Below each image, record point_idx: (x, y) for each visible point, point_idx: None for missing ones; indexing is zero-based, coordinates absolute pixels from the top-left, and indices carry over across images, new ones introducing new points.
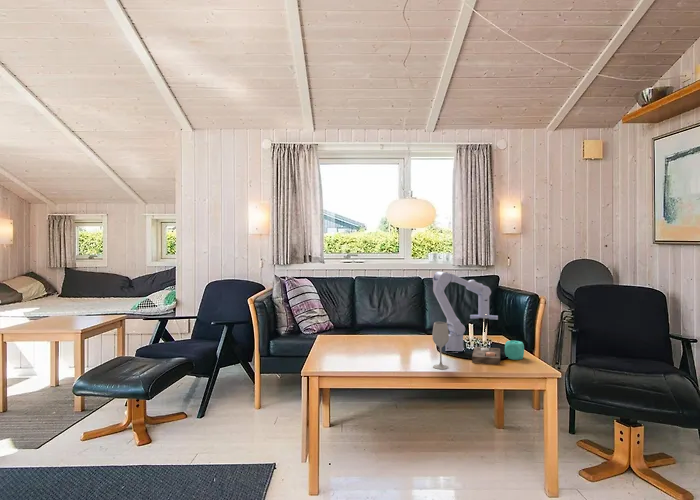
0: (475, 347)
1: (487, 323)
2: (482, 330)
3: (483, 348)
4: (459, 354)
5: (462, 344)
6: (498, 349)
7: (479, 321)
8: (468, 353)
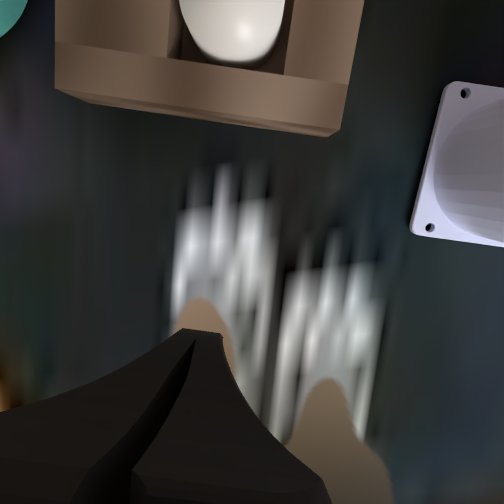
0: (334, 94)
1: (19, 410)
2: (220, 343)
3: (249, 11)
4: (493, 23)
5: (495, 123)
6: (75, 22)
7: (309, 475)
8: (392, 84)
